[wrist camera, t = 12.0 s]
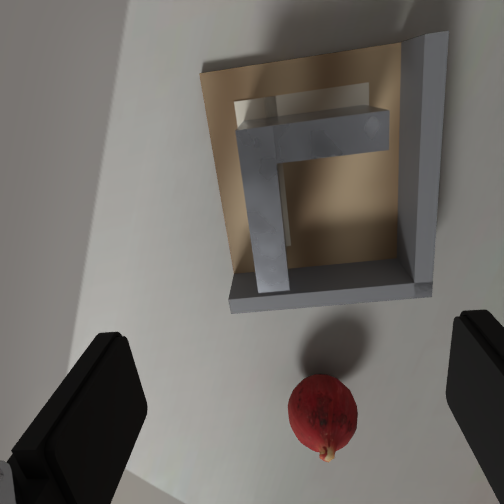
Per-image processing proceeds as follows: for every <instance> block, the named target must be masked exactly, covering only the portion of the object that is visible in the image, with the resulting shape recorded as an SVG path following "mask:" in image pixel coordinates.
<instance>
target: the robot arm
mask: <svg viewBox="0 0 504 504" xmlns="http://www.w3.org/2000/svg"><path fill="white" fill-rule="evenodd" d="M446 399H447V403H448V405H449V408H450V409H451V411H452V413H453V415H454V417H455V419H456V421H457V423H458V425H459V427H460V428H461V430H462V432H463V434H464V436H465V438H466V440H467V442H468V444H469V446H470V447H471V449H472V451H473V453H474V455H475V457H476V459H477V461H478V463H479V465H480V467H481V468H482V470H483V472H484V474H485V476H486V478H487V480H488V482H489V484H490V486H491V487H492V489H493V491H494V493H495V495H496V497H497V499H498V501H499V503H500V504H504V327H503V326H502V325H501V324H500V323H499V322H498V321H497V320H496V319H495V318H494V316H493V315H492V314H491V313H490V312H489V311H487V310H469V311H462V312H461V314H460V316H459V317H455V318H454V322H453V331H452V340H451V349H450V358H449V367H448V376H447V385H446ZM146 415H147V402H146V398H145V395H144V392H143V388H142V385H141V382H140V379H139V375H138V372H137V369H136V366H135V362H134V359H133V356H132V352H131V349H130V346H129V343H128V340H127V338H126V337H125V336H122V335H121V334H120V333H119V332H106V333H99V334H98V335H97V336H96V337H95V338H94V340H93V341H92V342H91V344H90V345H89V346H88V348H87V349H86V350H85V352H84V353H83V354H82V356H81V357H80V358H79V360H78V361H77V362H76V364H75V365H74V366H73V368H72V369H71V371H70V372H69V373H68V375H67V376H66V377H65V379H64V380H63V381H62V383H61V384H60V385H59V387H58V388H57V390H56V391H55V392H54V393H53V395H52V396H51V398H50V399H49V400H48V402H47V403H46V404H45V406H44V407H43V408H42V410H41V411H40V412H39V414H38V415H37V416H36V418H35V419H34V421H33V422H32V423H31V424H30V426H29V427H28V429H27V430H26V431H25V433H24V434H23V435H22V437H21V438H20V439H19V441H18V442H17V443H16V445H15V446H14V447H13V449H12V450H11V451H12V453H13V454H12V455H11V457H10V458H9V460H8V461H7V462H5V461H0V504H111V501H112V498H113V496H114V494H115V491H116V489H117V486H118V484H119V481H120V479H121V477H122V474H123V471H124V469H125V467H126V464H127V462H128V460H129V457H130V455H131V452H132V450H133V447H134V445H135V442H136V440H137V438H138V435H139V433H140V430H141V428H142V425H143V423H144V420H145V418H146Z"/></svg>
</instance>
